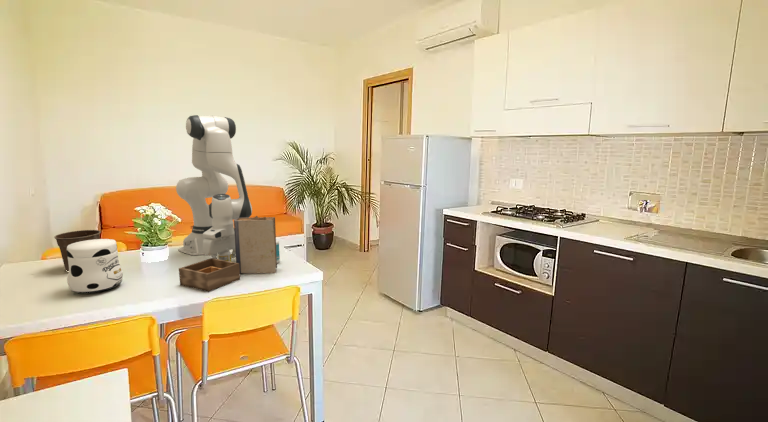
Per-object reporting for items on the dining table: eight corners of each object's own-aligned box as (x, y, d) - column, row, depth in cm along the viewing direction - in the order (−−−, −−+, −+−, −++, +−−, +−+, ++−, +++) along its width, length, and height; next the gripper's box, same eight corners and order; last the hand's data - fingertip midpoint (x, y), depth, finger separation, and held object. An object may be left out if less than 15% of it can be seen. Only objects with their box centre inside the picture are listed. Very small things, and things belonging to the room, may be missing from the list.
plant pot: (50, 275, 168) (45, 238, 165) (72, 264, 183) (67, 230, 181) (93, 273, 171) (89, 237, 168) (111, 262, 186) (107, 229, 184)
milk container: (128, 289, 154) (123, 244, 151) (71, 300, 142) (65, 252, 139) (118, 277, 166) (114, 236, 163) (66, 287, 155) (60, 243, 151)
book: (277, 268, 181) (275, 214, 177) (275, 273, 174) (273, 217, 170) (238, 269, 178) (235, 215, 174) (235, 274, 172) (232, 218, 168)
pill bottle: (282, 260, 193) (281, 233, 190) (276, 265, 185) (275, 237, 183) (267, 260, 193) (266, 233, 191) (261, 264, 186) (259, 236, 184)
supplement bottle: (226, 265, 184) (224, 245, 182) (234, 267, 182) (233, 246, 180) (216, 268, 179) (215, 247, 178) (224, 270, 177) (223, 249, 175)
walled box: (180, 285, 159) (178, 268, 158) (212, 273, 173) (211, 258, 172) (208, 291, 152) (207, 274, 151) (240, 279, 166) (239, 263, 165)
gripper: (235, 225, 188) (237, 253, 191) (199, 234, 170) (201, 265, 172) (245, 226, 185) (247, 255, 188) (210, 236, 167) (212, 267, 170)
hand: (225, 260), depth 180 cm, fingers open, 8 cm apart
